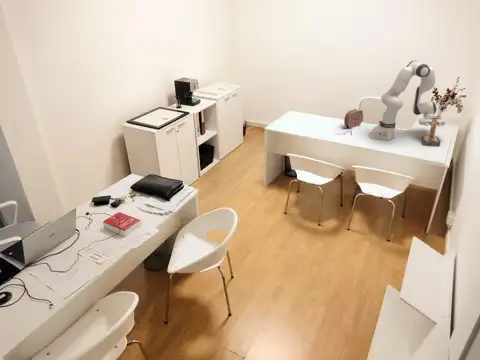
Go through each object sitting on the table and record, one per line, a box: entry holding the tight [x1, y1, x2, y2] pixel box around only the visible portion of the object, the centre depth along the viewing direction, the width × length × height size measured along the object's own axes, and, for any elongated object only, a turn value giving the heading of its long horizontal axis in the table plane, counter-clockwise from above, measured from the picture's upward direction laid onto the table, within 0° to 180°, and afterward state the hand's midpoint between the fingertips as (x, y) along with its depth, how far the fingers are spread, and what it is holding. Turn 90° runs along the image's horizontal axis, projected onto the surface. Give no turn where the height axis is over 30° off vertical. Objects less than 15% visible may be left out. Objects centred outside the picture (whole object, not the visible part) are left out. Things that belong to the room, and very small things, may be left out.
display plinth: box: [420, 135, 441, 147], centre depth 311 cm, size 13×12×4 cm
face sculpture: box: [343, 108, 364, 129], centre depth 352 cm, size 20×7×17 cm, turn 119°
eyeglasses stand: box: [426, 116, 442, 140], centre depth 305 cm, size 8×7×20 cm
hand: (433, 125), depth 306 cm, fingers open, 8 cm apart
